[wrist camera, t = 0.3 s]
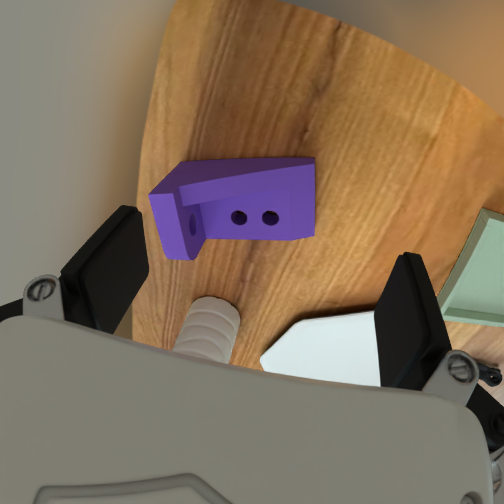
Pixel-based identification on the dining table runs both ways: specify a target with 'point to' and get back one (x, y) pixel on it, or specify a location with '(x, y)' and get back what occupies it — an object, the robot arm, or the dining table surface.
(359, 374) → the plate
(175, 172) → the bracket
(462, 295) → the shallow tray
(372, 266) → the dining table surface
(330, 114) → the dining table surface
